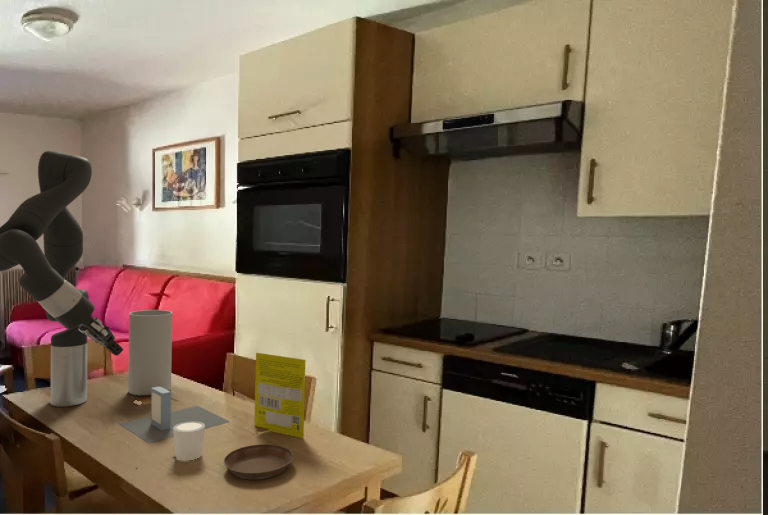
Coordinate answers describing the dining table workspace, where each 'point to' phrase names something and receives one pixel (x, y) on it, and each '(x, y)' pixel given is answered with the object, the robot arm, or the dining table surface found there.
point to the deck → (160, 408)
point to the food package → (280, 394)
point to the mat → (172, 423)
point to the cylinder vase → (149, 351)
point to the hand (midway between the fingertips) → (119, 352)
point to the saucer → (258, 461)
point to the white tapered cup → (188, 440)
